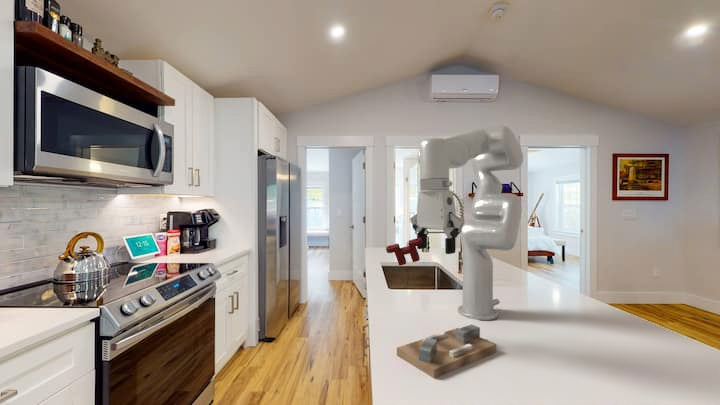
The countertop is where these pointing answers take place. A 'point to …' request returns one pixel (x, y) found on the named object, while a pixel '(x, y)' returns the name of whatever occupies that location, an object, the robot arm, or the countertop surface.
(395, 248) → the bracket
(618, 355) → the countertop surface
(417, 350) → the jig
